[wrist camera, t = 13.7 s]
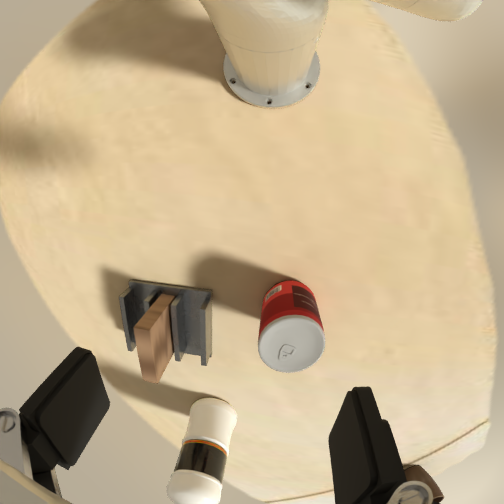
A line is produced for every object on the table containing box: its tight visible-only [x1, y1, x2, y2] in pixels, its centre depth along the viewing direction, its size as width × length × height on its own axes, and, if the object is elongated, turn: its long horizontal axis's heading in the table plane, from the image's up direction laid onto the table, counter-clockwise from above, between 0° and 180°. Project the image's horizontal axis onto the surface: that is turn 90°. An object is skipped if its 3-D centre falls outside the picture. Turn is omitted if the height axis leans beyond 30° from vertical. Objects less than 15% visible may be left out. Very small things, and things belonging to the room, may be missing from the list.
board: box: [133, 294, 175, 384], centre depth 38 cm, size 9×2×10 cm, turn 176°
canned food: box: [258, 280, 325, 373], centre depth 35 cm, size 8×8×11 cm
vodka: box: [167, 398, 237, 504], centre depth 35 cm, size 9×9×30 cm
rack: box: [119, 280, 212, 366], centre depth 41 cm, size 12×13×4 cm
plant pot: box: [404, 465, 444, 503], centre depth 48 cm, size 15×15×16 cm
